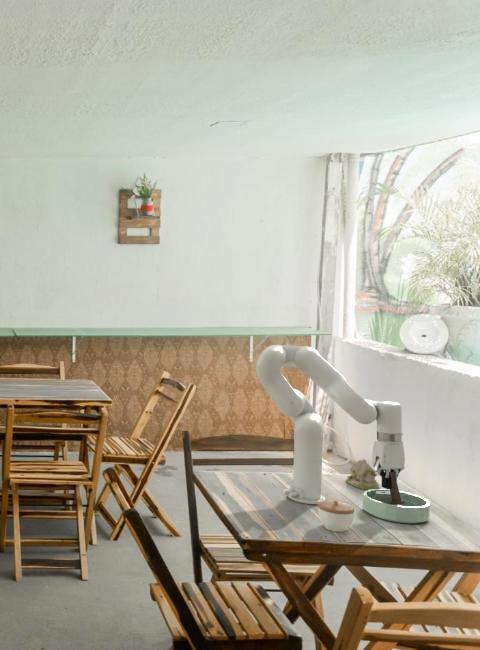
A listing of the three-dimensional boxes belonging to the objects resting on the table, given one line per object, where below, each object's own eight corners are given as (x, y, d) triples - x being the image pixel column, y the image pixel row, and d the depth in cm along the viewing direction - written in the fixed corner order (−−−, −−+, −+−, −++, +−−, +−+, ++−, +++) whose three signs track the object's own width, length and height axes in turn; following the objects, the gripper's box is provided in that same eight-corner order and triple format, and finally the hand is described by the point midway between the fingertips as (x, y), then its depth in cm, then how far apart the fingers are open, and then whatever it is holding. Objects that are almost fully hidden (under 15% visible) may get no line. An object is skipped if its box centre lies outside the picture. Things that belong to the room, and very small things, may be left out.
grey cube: (394, 505, 242) (392, 491, 242) (393, 508, 237) (391, 494, 238) (378, 505, 244) (376, 491, 245) (377, 507, 240) (375, 493, 241)
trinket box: (352, 536, 216) (353, 508, 216) (315, 530, 222) (316, 502, 222) (354, 526, 225) (355, 499, 225) (318, 520, 231) (319, 493, 231)
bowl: (396, 527, 225) (397, 509, 225) (350, 507, 244) (350, 491, 244) (443, 522, 230) (443, 505, 230) (394, 503, 249) (394, 487, 249)
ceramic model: (342, 478, 279) (342, 454, 278) (371, 479, 277) (372, 456, 277) (356, 489, 265) (356, 464, 265) (386, 490, 263) (387, 465, 263)
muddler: (397, 504, 234) (389, 472, 236) (387, 504, 238) (379, 472, 241) (407, 503, 235) (399, 471, 237) (397, 503, 239) (389, 471, 242)
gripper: (398, 433, 244) (398, 482, 245) (362, 436, 241) (362, 486, 241) (416, 437, 237) (416, 488, 238) (379, 440, 233) (379, 493, 234)
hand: (389, 487), depth 240 cm, fingers closed on muddler, 2 cm apart
